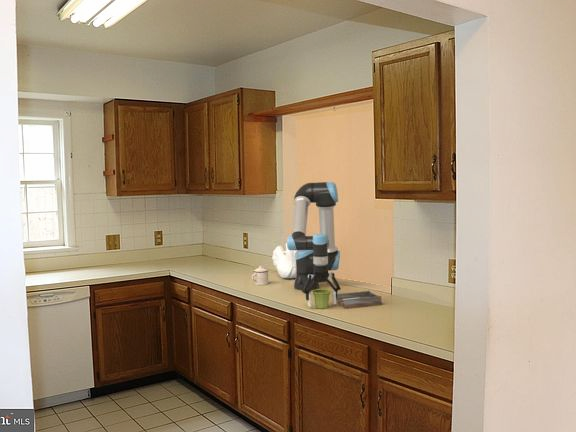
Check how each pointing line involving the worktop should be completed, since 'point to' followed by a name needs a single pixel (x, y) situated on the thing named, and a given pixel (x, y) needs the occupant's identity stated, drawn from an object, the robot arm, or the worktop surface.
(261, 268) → the teacup with lid
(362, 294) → the dock
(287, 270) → the decorative rooster
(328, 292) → the plant pot
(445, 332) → the worktop surface
